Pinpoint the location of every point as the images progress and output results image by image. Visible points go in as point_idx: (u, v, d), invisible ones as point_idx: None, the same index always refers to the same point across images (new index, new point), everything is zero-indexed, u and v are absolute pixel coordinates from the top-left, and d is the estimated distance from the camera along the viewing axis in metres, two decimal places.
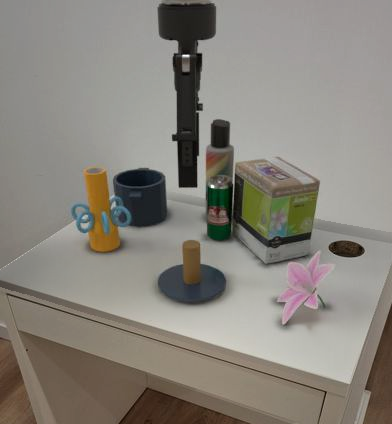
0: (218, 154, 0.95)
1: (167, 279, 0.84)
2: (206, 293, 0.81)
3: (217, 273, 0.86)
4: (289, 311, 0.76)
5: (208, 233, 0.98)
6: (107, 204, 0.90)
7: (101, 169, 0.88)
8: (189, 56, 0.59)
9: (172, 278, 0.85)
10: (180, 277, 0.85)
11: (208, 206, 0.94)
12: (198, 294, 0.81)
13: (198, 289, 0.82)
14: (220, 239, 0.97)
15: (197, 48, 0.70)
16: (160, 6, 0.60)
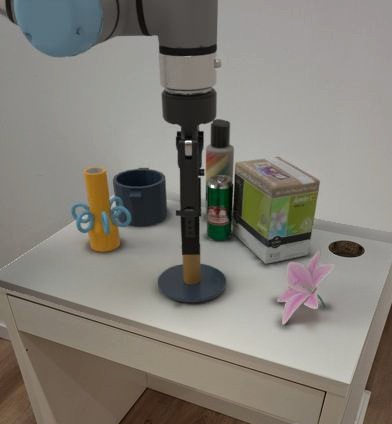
0: (218, 154, 0.95)
1: (167, 279, 0.84)
2: (206, 293, 0.81)
3: (217, 273, 0.86)
4: (289, 311, 0.76)
5: (208, 233, 0.98)
6: (107, 204, 0.90)
7: (101, 169, 0.88)
8: (191, 142, 0.63)
9: (172, 278, 0.85)
10: (180, 277, 0.85)
11: (208, 206, 0.94)
12: (198, 294, 0.81)
13: (198, 289, 0.82)
14: (220, 239, 0.97)
15: None
16: (164, 94, 0.64)
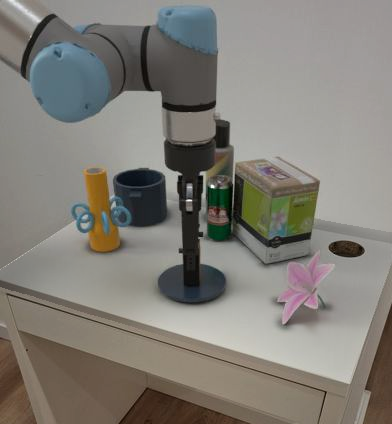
0: (218, 154, 0.95)
1: (167, 279, 0.84)
2: (206, 293, 0.81)
3: (217, 273, 0.86)
4: (289, 311, 0.76)
5: (208, 233, 0.98)
6: (107, 204, 0.90)
7: (101, 169, 0.88)
8: (192, 203, 0.68)
9: (172, 278, 0.85)
10: (180, 277, 0.85)
11: (208, 206, 0.94)
12: (198, 294, 0.81)
13: (198, 289, 0.82)
14: (220, 239, 0.97)
15: None
16: (166, 144, 0.68)
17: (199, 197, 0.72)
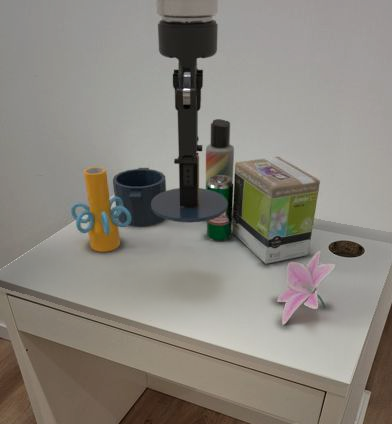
0: (218, 154, 0.95)
1: (161, 201, 0.75)
2: (205, 213, 0.72)
3: (217, 196, 0.77)
4: (289, 311, 0.76)
5: (208, 233, 0.98)
6: (107, 204, 0.90)
7: (101, 169, 0.88)
8: (190, 92, 0.59)
9: (167, 200, 0.76)
10: (176, 199, 0.76)
11: None
12: (196, 214, 0.72)
13: (196, 210, 0.73)
14: (220, 239, 0.97)
15: None
16: (160, 23, 0.59)
17: (198, 92, 0.63)
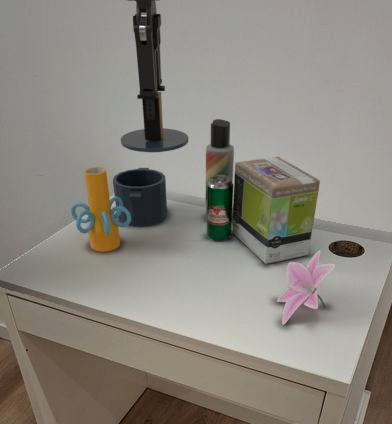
0: (218, 154, 0.95)
1: (130, 137, 0.85)
2: (167, 145, 0.82)
3: (180, 134, 0.87)
4: (289, 311, 0.76)
5: (208, 233, 0.98)
6: (107, 204, 0.90)
7: (101, 169, 0.88)
8: (145, 29, 0.69)
9: (135, 136, 0.85)
10: (143, 136, 0.86)
11: (208, 206, 0.94)
12: (159, 145, 0.81)
13: (159, 143, 0.83)
14: (220, 239, 0.97)
15: None
16: None
17: (155, 32, 0.73)
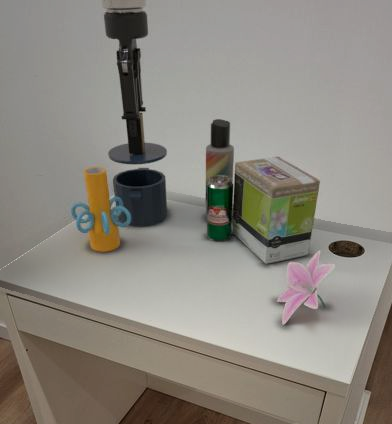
0: (218, 154, 0.95)
1: (116, 151, 0.99)
2: (148, 158, 0.95)
3: (160, 147, 1.00)
4: (289, 311, 0.76)
5: (208, 233, 0.98)
6: (107, 204, 0.90)
7: (101, 169, 0.88)
8: (126, 63, 0.83)
9: (121, 150, 0.99)
10: (128, 150, 0.99)
11: (208, 206, 0.94)
12: (141, 158, 0.95)
13: (141, 156, 0.96)
14: (220, 239, 0.97)
15: None
16: (105, 14, 0.83)
17: (135, 64, 0.87)
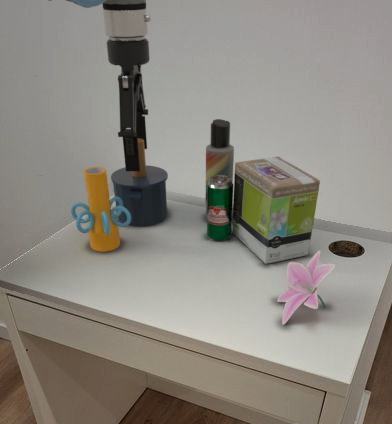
0: (218, 154, 0.95)
1: (119, 174, 1.02)
2: (149, 182, 0.98)
3: (161, 171, 1.03)
4: (289, 311, 0.76)
5: (208, 233, 0.98)
6: (107, 204, 0.90)
7: (101, 169, 0.88)
8: (127, 77, 0.84)
9: (123, 174, 1.02)
10: (130, 173, 1.02)
11: (208, 206, 0.94)
12: (143, 183, 0.98)
13: (143, 180, 0.99)
14: (220, 239, 0.97)
15: (140, 69, 0.95)
16: (108, 41, 0.85)
17: None
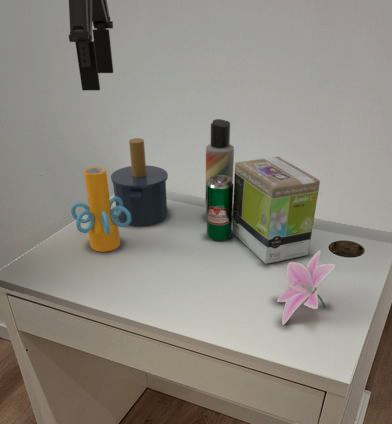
0: (218, 154, 0.95)
1: (119, 174, 1.02)
2: (149, 182, 0.98)
3: (161, 171, 1.03)
4: (289, 311, 0.76)
5: (208, 233, 0.98)
6: (107, 204, 0.90)
7: (101, 169, 0.88)
8: None
9: (123, 174, 1.02)
10: (130, 173, 1.02)
11: (208, 206, 0.94)
12: (143, 183, 0.98)
13: (143, 180, 0.99)
14: (220, 239, 0.97)
15: None
16: None
17: None
